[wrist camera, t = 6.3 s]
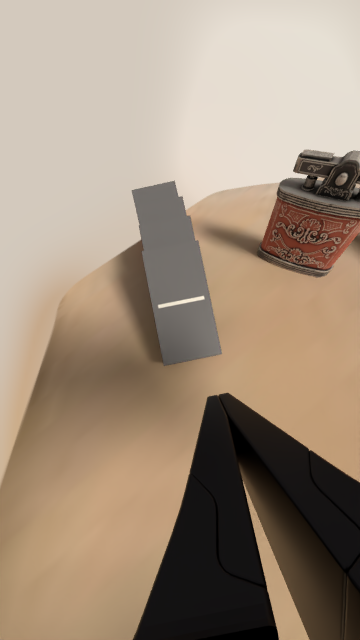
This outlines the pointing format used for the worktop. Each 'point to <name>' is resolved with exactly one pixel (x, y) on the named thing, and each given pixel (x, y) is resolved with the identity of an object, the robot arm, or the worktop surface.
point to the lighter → (314, 214)
